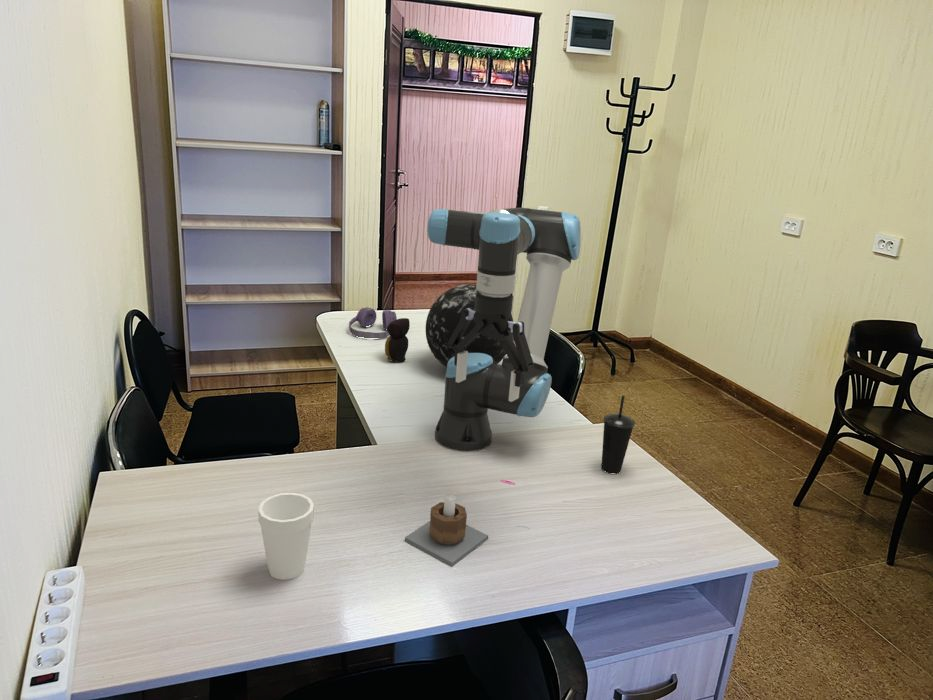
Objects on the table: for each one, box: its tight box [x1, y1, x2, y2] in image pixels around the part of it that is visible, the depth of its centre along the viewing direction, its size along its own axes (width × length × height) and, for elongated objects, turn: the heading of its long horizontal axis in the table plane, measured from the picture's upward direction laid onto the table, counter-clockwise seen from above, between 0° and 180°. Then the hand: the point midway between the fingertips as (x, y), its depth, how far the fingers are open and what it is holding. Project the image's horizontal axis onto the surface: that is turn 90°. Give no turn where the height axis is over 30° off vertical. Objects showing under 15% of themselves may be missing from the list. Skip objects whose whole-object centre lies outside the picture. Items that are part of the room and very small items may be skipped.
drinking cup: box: [601, 395, 636, 475], centre depth 164 cm, size 8×8×20 cm
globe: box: [425, 283, 514, 368], centre depth 222 cm, size 29×30×30 cm
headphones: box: [348, 306, 398, 339], centre depth 259 cm, size 18×8×20 cm
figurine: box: [384, 317, 410, 363], centre depth 229 cm, size 10×7×15 cm
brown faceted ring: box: [429, 501, 467, 543], centre depth 132 cm, size 7×7×5 cm
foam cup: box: [257, 492, 315, 581], centre depth 119 cm, size 10×9×13 cm
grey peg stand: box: [404, 494, 489, 567], centre depth 132 cm, size 12×12×10 cm
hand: (486, 389), depth 140 cm, fingers open, 13 cm apart
